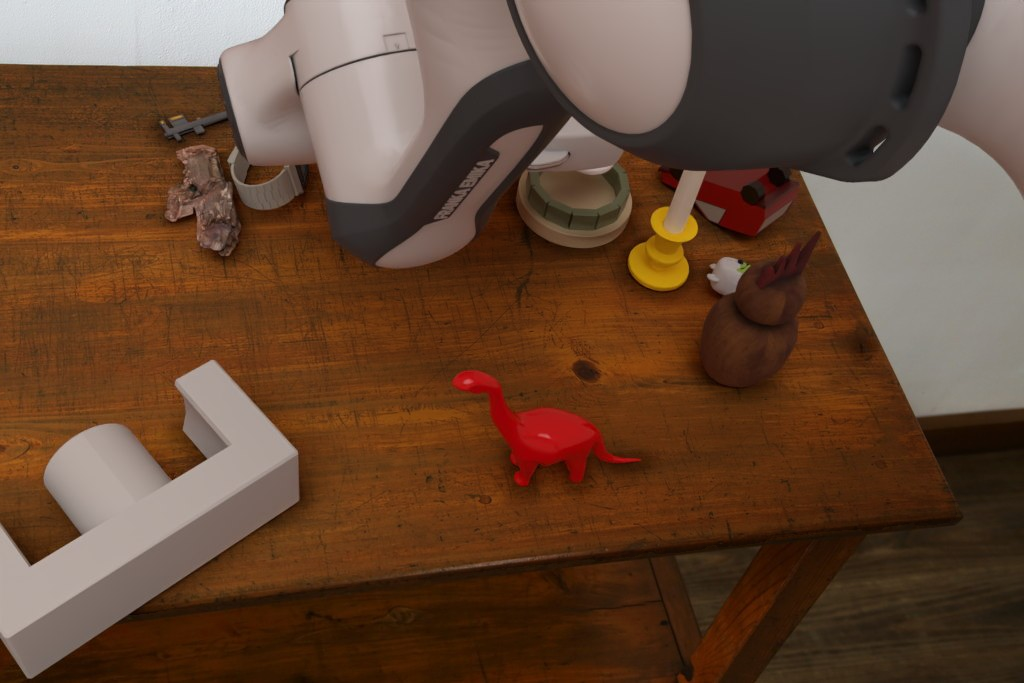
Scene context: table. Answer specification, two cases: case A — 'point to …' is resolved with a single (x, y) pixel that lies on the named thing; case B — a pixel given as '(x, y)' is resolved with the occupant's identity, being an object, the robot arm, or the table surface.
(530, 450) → the dinosaur
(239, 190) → the wristwatch
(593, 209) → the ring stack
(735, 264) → the toy
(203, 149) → the tree bark
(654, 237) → the candle
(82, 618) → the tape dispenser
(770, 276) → the wooden figurine
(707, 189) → the toy truck
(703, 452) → the table surface
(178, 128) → the key
